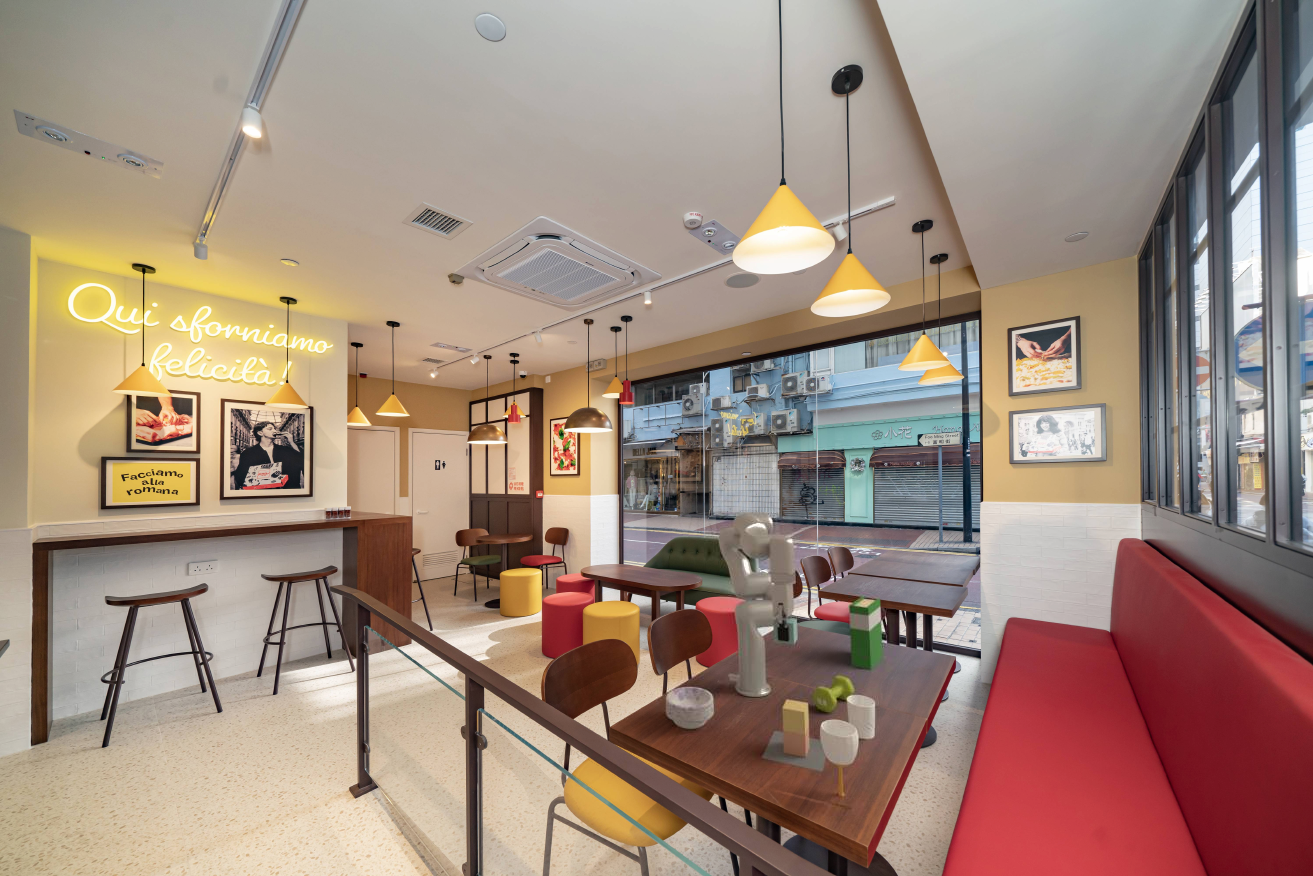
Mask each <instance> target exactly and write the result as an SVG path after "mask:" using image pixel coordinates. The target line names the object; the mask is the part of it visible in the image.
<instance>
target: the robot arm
mask: <svg viewBox="0 0 1313 876" xmlns="http://www.w3.org/2000/svg"><path fill="white" fill-rule="evenodd" d="M773 530H774V522H773V519H772V517H771V516H770V515H769V514H768V513H765V512H747V513H746V512H743V513H739V514H738V515H737V516H735V517H734V519H733V527H728V528H727V527H726V528H724V529H722V530H721V531H720V532H719V534H718V545H719V549H720V552H721V555H722V557H723V558H724V561H725V562H726V564H727V567H728V573H729V576H730V577H729V578H730V580H731V584H732V589H733V593H734V596H735V597H736V598H737V599H741V600H744V601H740V602H739V603H737V604H736V605H735V608H734V616H735V623H736V628H737V642H738V643H737V645H738V673H737V674H733V673H728V676H727V677H728V680H729V682H731V683H735V685H734V687H735V691H736V692H737V693H738V694H740V695H742V696H745V697H751V698H759V697H765V696H767V695H769V694H770V693H771V690H772V689H771V686H770V685H769V683H768V682H767V675H766V673H767V671H766V643H765V639H764V637H763V635H762V634H761V632H759V630H758V629H759V628H769V627H773V621H774V620H775V619H776V618H777V619H778V623H777V626H778V627H777V629H778V640H779V641H789V628H788V627H787V620H788V618H793V612H794V610H795V609H794V608H795V603H794V601H795V599H794V587H793V586H794V585H795V584H796V581H797V580H796V578H797V577H796V562H795V561H796V559H795V543H794V539H793V538H791V537H789V536H786V535H784V534H782V533H781V534H780V533H779V534H778V533H776V534H772V533H773ZM740 550H742V551H740ZM742 552H743V553H744V554H745V555H744V554H743V553H742ZM746 555H747V557H749V558H751V559H755V560H756V559H757V560H758V559H769V568H770V569H769V572H770V573H769V572H766V571H761V572H760V571H758V572H756V571H755V572H754V571H753V570H752V567H751V563H750V561H749V559H748V558H747V557H746ZM751 599H752V600H751ZM783 619H785V621H784V620H783Z"/></svg>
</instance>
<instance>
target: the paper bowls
mask: <svg viewBox="0 0 1313 876" xmlns="http://www.w3.org/2000/svg"><path fill="white" fill-rule="evenodd" d="M665 712H666V713H665V714H666V716H667V718H668V719H669V720H672V721H673V722H674V724H675V725H676V726H677V727H680V728H682V729H686V730H691V729H692V730H693V729H699V728H701V727H703V726H704V725H705V724H706V723H707V721H709V720H710V719H712V718H713V715H714V714H715V707H714V696H713V694H712V693H711V692H710V691H709V690H706V689H704V688H701V687H696V686H683V687H678V688H675V689H672V690H670V691H669V692H668V693H667V694H666V697H665Z"/></svg>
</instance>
